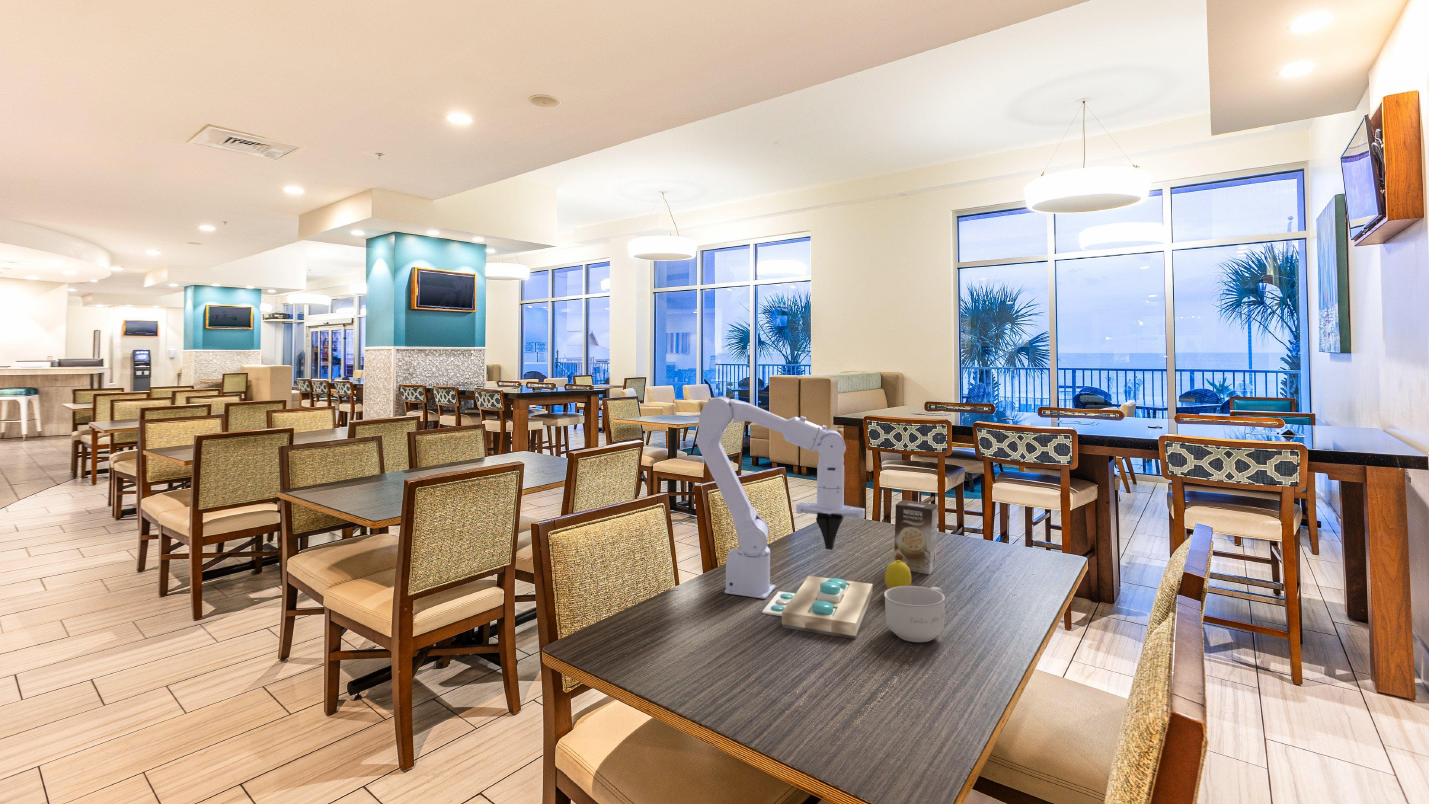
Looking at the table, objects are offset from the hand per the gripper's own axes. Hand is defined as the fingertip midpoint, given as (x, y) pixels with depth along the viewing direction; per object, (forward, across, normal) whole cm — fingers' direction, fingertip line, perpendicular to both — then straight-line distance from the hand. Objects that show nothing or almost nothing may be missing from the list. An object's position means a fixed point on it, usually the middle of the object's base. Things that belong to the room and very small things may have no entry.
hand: (829, 548), depth 137 cm
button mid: (+8, +2, -9) cm, 12 cm away
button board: (+10, +2, -9) cm, 14 cm away
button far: (+10, +2, -2) cm, 10 cm away
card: (+10, -8, -9) cm, 16 cm away
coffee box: (+11, +16, +26) cm, 32 cm away
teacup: (+11, +20, -13) cm, 26 cm away
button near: (+10, +2, -16) cm, 19 cm away
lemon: (+11, +14, +5) cm, 18 cm away
